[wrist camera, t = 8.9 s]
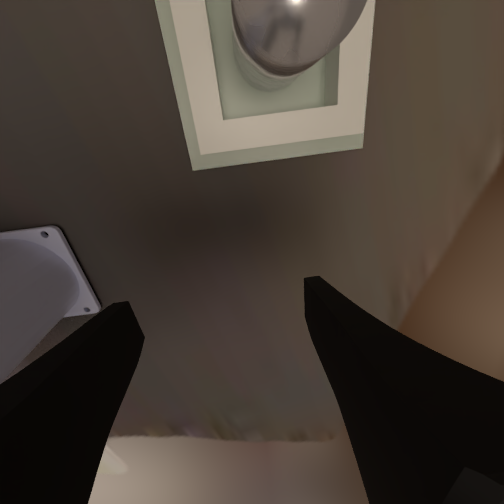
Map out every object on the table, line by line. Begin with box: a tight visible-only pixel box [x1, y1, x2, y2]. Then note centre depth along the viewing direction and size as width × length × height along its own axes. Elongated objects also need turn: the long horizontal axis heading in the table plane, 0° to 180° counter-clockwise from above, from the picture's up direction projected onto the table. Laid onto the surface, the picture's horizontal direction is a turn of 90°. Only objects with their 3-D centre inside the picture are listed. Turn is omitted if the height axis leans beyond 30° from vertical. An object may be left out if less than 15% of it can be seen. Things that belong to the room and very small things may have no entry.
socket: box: [155, 0, 375, 171], centre depth 12 cm, size 11×11×3 cm
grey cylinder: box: [231, 0, 367, 92], centre depth 10 cm, size 4×4×7 cm
